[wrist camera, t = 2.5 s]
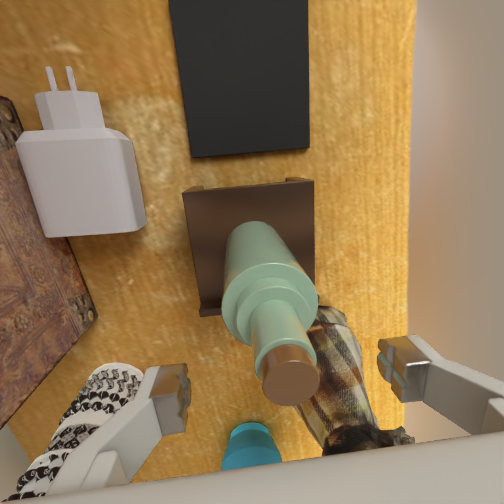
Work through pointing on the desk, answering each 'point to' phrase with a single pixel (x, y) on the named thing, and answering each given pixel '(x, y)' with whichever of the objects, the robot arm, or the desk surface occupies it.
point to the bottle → (271, 311)
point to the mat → (243, 74)
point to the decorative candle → (81, 423)
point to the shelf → (241, 211)
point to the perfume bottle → (250, 447)
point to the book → (32, 283)
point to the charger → (80, 167)
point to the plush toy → (342, 392)
